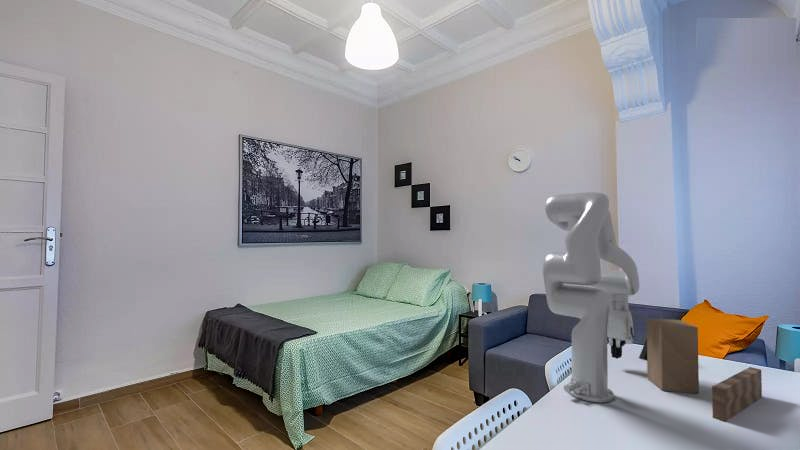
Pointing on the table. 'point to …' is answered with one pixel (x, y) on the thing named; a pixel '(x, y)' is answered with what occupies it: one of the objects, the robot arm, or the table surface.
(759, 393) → the walnut board
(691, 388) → the wooden block
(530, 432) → the table surface
